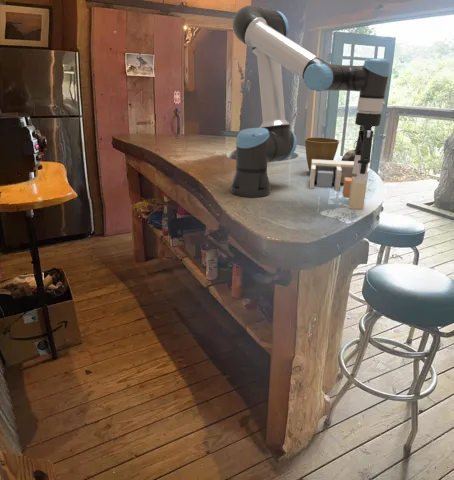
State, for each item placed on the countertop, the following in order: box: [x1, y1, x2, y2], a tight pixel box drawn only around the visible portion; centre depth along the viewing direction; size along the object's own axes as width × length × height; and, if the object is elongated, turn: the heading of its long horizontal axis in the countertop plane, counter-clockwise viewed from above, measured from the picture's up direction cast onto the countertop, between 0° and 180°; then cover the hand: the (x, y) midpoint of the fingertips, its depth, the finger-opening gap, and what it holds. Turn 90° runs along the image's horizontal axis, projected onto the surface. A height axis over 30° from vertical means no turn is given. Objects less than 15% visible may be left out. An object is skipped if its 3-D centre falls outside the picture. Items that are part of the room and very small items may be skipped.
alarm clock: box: [340, 140, 357, 161], centre depth 178 cm, size 11×5×16 cm, turn 104°
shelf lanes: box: [309, 159, 369, 191], centre depth 165 cm, size 22×16×9 cm
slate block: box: [316, 170, 333, 188], centre depth 165 cm, size 6×6×6 cm
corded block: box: [342, 177, 368, 210], centre depth 144 cm, size 6×21×10 cm, turn 169°
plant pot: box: [304, 136, 340, 174], centre depth 182 cm, size 15×15×16 cm
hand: (358, 178), depth 135 cm, fingers open, 13 cm apart
